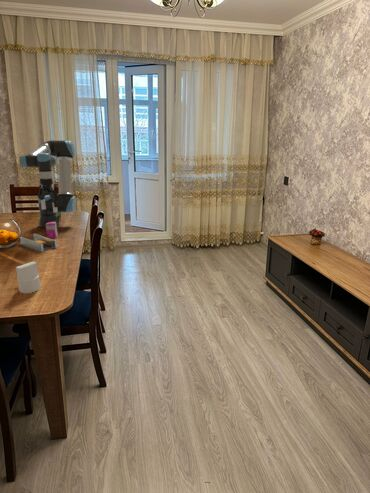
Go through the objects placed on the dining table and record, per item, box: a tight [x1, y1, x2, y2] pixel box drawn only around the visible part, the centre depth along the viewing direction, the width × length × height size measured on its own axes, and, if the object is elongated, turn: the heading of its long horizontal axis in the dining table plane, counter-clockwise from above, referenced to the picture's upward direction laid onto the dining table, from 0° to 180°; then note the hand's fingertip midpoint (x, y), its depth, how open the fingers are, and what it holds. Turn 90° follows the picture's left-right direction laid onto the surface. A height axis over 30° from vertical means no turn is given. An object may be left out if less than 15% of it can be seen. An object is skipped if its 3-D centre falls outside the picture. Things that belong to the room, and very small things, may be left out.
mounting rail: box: [19, 233, 59, 253], centre depth 213 cm, size 24×12×6 cm, turn 53°
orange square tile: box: [35, 240, 47, 244], centre depth 213 cm, size 7×7×1 cm
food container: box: [56, 212, 62, 221], centre depth 285 cm, size 12×6×10 cm, turn 71°
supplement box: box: [45, 222, 59, 239], centre depth 230 cm, size 6×6×12 cm
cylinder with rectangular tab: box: [15, 261, 41, 294], centre depth 157 cm, size 9×9×12 cm
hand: (49, 210), depth 226 cm, fingers open, 13 cm apart
